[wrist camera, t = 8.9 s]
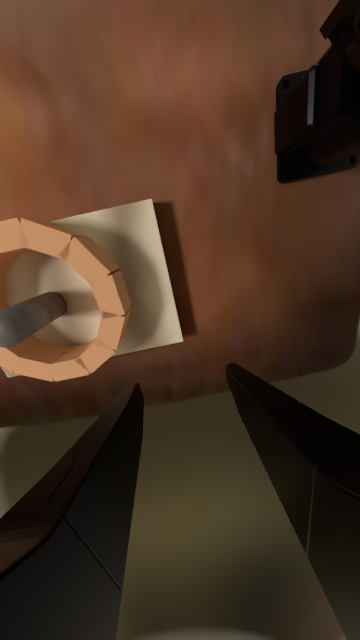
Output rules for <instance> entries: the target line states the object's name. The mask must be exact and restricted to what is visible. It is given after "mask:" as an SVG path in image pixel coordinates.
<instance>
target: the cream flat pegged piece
mask: <svg viewBox="0 0 360 640" xmlns="http://www.w3.org/2000/svg"><path fill="white" fill-rule="evenodd" d="M46 223H49V224H52V225H55V226H58V227H61V228H64V229H67V230H70V231H73V232H76V233H79V234H82V235H85V236H88V238H91V239H92V240H93V241H94V242H95V243H96V244H97V245H98V246H99V247H100V248H101V249H102V250H103V251H104V252H105V253H106V254H107V255H108V256H109V257H110V258H111V259H112V260H113V261H114V262H115V263H116V264H117V265H118V266H119V267H120V268H119V269H118V270H117V271H119V270H121V271H122V274H123V278H124V281H125V284H126V287H127V291H128V294H129V297H130V300H131V303H132V304H131V306H132V307H131V311H130V315H129V319H128V323H127V326H126V330H125V334H124V337H123V339H122V341H121V343H120V345H119V347H118V349H117V350H116V352H115V353H114V354H113V355H112V356H115V355H120V354H125V353H129V352H134V351H139V350H144V349H149V348H154V347H158V346H163V345H168V344H173V343H178V342H183V337H182V332H181V327H180V323H179V318H178V314H177V309H176V304H175V300H174V295H173V291H172V286H171V282H170V277H169V273H168V268H167V264H166V259H165V255H164V250H163V246H162V241H161V237H160V232H159V228H158V223H157V219H156V214H155V210H154V205H153V201H152V199H148V200H144V201H139V202H135V203H130V204H126V205H121V206H117V207H113V208H108V209H104V210H99V211H95V212H90V213H86V214H81V215H77V216H73V217H68V218H64V219H59V220H55V221H50V222H46ZM5 301H6V303H7V305H8V306H9V307H7V308H5V309H2V310H0V347H3V348H10V347H14V346H16V345H17V344H19V343H21V342H22V341H24V340H25V339H27V338H28V337H30V336H31V335H34V336H35V337H36V338H38V339H39V340H40V341H43V342H47V343H51V344H55V345H59V346H64V347H71V346H76V345H81V344H85V343H90V342H92V341H93V340H94V339H95V338H96V337H97V335H98V330H99V325H100V320H101V312H100V309H99V307H98V304H97V301H96V299H95V296H94V293H93V291H92V288H91V286H90V284H89V283H88V282H87V281H86V280H85V279H83V278H82V277H81V276H80V275H79V274H78V273H77V272H76V271H75V270H74V269H73V268H72V267H70V266H69V265H68V264H67V263H66V262H65V261H64V260H63V259H61V258H57V257H54V256H51V255H48V254H45V253H41V252H38V251H30V252H26V253H22V254H21V255H20V256H19V257H18V259H17V260H16V261H15V262H14V263H13V265H12V266H11V267H10V268H9V270H8V271H7V272H6V273H5ZM0 366H1V365H0ZM1 368H2V369H3V371H4V372H5V374H6V376H7V377H8V378H9V377H13V376H18V375H19V374H15V373H14V370H13V371H12V372H10V371H9V370H7V369H6V368H4V367H2V366H1Z"/></svg>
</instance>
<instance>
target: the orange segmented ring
mask: <svg viewBox="0 0 360 640" xmlns="http://www.w3.org/2000/svg"><path fill="white" fill-rule="evenodd" d="M30 251H38V252H41V253H45V254H48V255H51V256H54V257H57V258H61V259H63V260H64V261H65V262H66V263H67V264H68V265H69V266H70V267H72V268H73V269H74V270H75V271H76V272H77V273H78V274H79V275H80V276H81V277H82V278H83V279H85V280H86V281H87V282H88V283H89V284H90V286H91V288H92V291H93V293H94V296H95V299H96V301H97V304H98V307H99V309H100V312H101V320H100V325H99V330H98V335H97V337H96V338H95V339H94V340H93V341H92V342H90V343H85V344H81V345H76V346H71V347H64V346H59V345H55V344H51V343H47V342H43V341H40V340H39V339H38V338H36V337H35V336H34V335H31V336H30V337H28V338H27V339H25V340H24V341H22V342H21V343H19V344H17V345H16V346H14V347H10V348H3V347H0V365H1V366H2V367H4V368H6V369H7V370H9V371H10V372H12V371H13V370H14V373H15V374H19V375H24V376H29V377H33V378H38V379H43V380H47V381H52V382H53V380H54V381H55V382H56V381H60V380H65V379H70V378H75V377H80V376H85V375H89V374H90V373H93V372H94V371H95V370H96V369H97V368H98V367H99V366H100V365H102V364H103V363H104V362H105V361H106V360H107V359H108V358H110V357H111V356H112V355H113V354H114V353H115V352H116V350H117V349H118V347H119V345H120V343H121V341H122V339H123V337H124V334H125V330H126V326H127V323H128V319H129V315H130V311H131V307H132V306H131V304H132V303H131V300H130V297H129V294H128V291H127V287H126V284H125V281H124V278H123V274H122V271H121V270H119V271H117V270H118V269H119V268H120V267H119V266H118V265H117V264H116V263H115V262H114V261H113V260H112V259H111V258H110V257H109V256H108V255H107V254H106V253H105V252H104V251H103V250H102V249H101V248H100V247H99V246H98V245H97V244H96V243H95V242H94V241H93V240H92V239H91V238H88V236H85V235H82V234H79V233H76V232H73V231H70V230H67V229H64V228H61V227H58V226H55V225H52V224H49V223H46V222H40V221H35V220H30V219H24V218H13V219H9V220H4V221H0V310H2V309H5V308H7V307H9V306H8V305H7V303H6V301H5V273H6V272H7V271H8V270H9V268H10V267H11V266H12V265H13V263H14V262H15V261H16V260H17V259H18V257H19V256H20V255H21V254H22V253H26V252H30Z"/></svg>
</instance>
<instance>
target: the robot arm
mask: <svg viewBox="0 0 360 640" xmlns="http://www.w3.org/2000/svg"><path fill="white" fill-rule="evenodd" d="M319 30H320V32H321V34H322V35H323V37H324V38H325V40H326V39H327V37H328V38H329V40H330V41H331V43H332V45H331V46H330V48H329V49H328V50H327V51H326V53H325V54H324V55H323V56H322V58H321V59H320V60H319V61H318V62H317V64H315V65H313V66H311V68H310V69H309V70H306V71H302V72H297V73H293V74H289V75H285V76H283V77H282V78H281V80H280V81H279V83H278V85H277V87H276V112H275V114H274V124H275V153H276V155H277V179H278V181H279V182H280V183H286V182H291V181H295V180H300V179H304V178H309V177H313V176H318V175H322V174H327V173H331V172H336V171H340V170H345V169H348V168H350V167H353V166H354V165H355V164H356V163H357V161H358V157H359V149H360V0H340V1H339V2H338V3H337V5H336V6H335V8H334V9H333V11H332V12H331V14H330V15H329V16H328V18H327V19H326V21H325V22H324V24H323V25H322V27H321V28H320V29H319ZM282 84H285V86H286V90H285V89H283V87H282ZM349 159H351V163H349ZM283 173H285V174H286V178H283ZM225 367H226V375H227V381H228V384H229V387H230V390H231V393H232V396H233V399H234V402H235V405H236V407H237V410H238V413H239V415H240V418H241V420H242V422H243V424H244V426H245V428H246V431H247V433H248V434H249V436H250V439H251V441H252V443H253V445H254V447H255V449H256V451H257V454H258V456H259V457H260V460H261V462H262V464H263V466H264V468H265V470H266V472H267V474H268V476H269V479H270V481H271V483H272V485H273V487H274V488H275V491H276V493H277V495H278V497H279V499H280V501H281V503H282V506H283V508H284V510H285V512H286V514H287V516H288V518H289V520H290V522H291V524H292V527H293V529H294V531H295V533H296V535H297V537H298V539H299V541H300V543H301V545H302V547H303V549H304V551H305V554H306V556H307V557H308V560H309V562H310V564H311V566H312V569H313V571H314V573H315V575H316V577H317V579H318V581H319V583H320V585H321V587H322V589H323V592H324V593H325V595H326V598H327V600H328V602H329V604H330V606H331V608H332V610H333V612H334V614H335V616H336V618H337V621H338V623H339V625H340V627H341V629H342V631H343V633H344V635H345V637H346V639H347V640H360V434H358V433H356V432H354V431H352V430H350V429H348V428H346V427H344V426H342V425H340V424H338V423H336V422H335V421H333V420H331V419H329V418H327V417H325V416H323V415H321V414H320V413H318V412H316V411H315V410H313V409H311V408H309V407H308V406H306V405H304V404H303V403H299V402H298V401H297V400H296V399H294V398H292V397H291V396H289V395H287V394H286V393H284V392H282V391H281V390H279V389H277V388H276V387H274V386H272V385H271V384H269V383H267V382H266V381H264V380H262V379H261V378H259V377H257V376H256V375H254V374H252V373H251V372H249V371H247V370H246V369H244V368H242V367H241V366H239V365H237V364H236V363H230V364H226V366H225ZM143 420H144V397H143V394H142V391H141V388H140V385H139V383H132V384H129V385H128V386H127V387H126V388H125V389H124V390H123V391H122V393H121V394H120V395H119V396H118V397H117V398H116V399H115V400H114V401H113V402H112V403H111V404H110V406H109V407H108V408H107V409H106V410H105V411H104V412H103V413H102V414H101V415H100V416H99V418H98V419H97V420H96V421H95V422H94V423H93V424H92V425H91V426H90V427H89V428H88V430H87V431H86V432H85V433H84V434H83V435H82V436H81V437H80V438H79V439H78V441H76V443H75V444H74V445H73V446H72V448H70V449H69V450H68V451H67V452H66V453H65V454H64V456H63V457H62V458H61V459H60V460H59V461H58V462H57V463H56V464H55V465H54V466H53V467H52V468H51V469H50V470H49V471H48V472H47V473H46V474H45V475H44V476H43V477H42V478H41V479H40V480H39V481H38V482H37V483H36V484H35V485H34V486H33V487H32V488H31V489H30V490H29V491H28V492H27V493H26V494H25V495H24V496H23V497H22V498H21V499H20V500H19V501H18V502H17V503H16V504H15V505H14V506H13V507H12V508H11V509H10V510H9V511H7V512H6V513H5V514H4V515H3V516H2V517H1V518H0V640H116V633H117V626H118V618H119V611H120V604H121V596H122V591H121V590H122V588H123V580H124V573H125V564H126V558H127V550H128V543H129V536H130V528H131V520H132V512H133V506H134V499H135V491H136V483H137V476H138V469H139V461H140V454H141V446H142V438H143Z"/></svg>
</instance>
